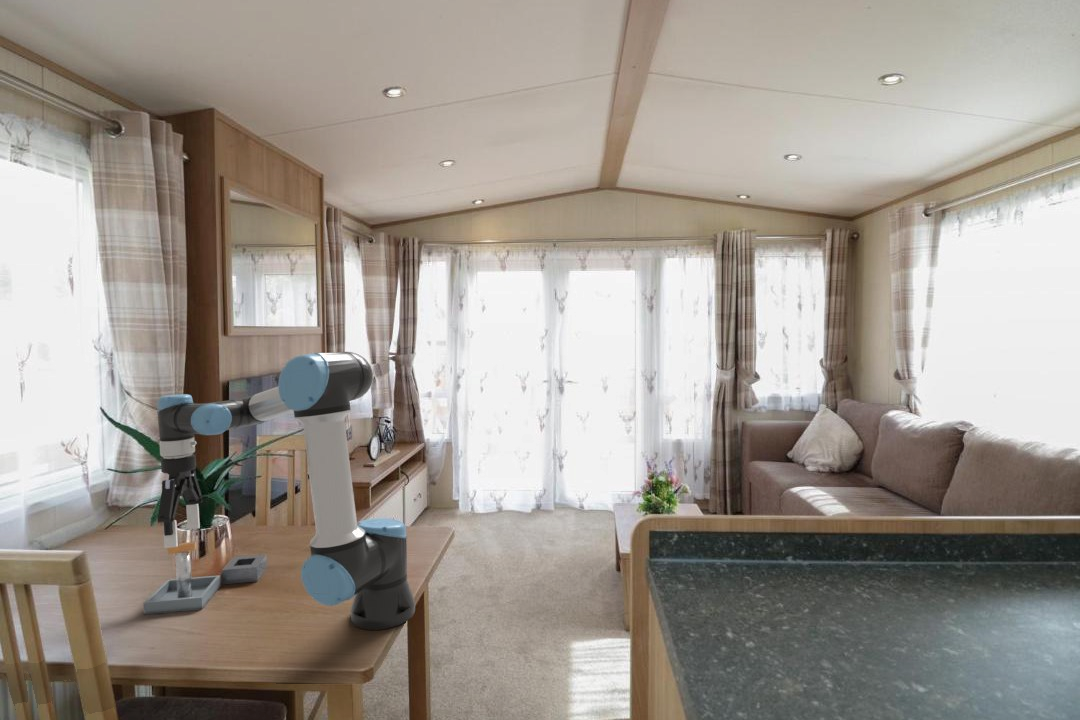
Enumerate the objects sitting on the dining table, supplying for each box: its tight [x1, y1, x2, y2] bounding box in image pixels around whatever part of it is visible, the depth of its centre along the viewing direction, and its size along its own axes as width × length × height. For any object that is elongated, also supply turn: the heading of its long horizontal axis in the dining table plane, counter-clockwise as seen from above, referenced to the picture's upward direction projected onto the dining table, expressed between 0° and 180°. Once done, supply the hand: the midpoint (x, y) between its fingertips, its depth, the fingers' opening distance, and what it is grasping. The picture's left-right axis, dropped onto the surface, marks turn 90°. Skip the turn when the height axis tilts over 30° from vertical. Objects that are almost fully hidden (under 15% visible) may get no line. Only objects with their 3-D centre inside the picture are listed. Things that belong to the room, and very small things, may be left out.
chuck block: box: [221, 554, 268, 585], centre depth 160 cm, size 9×9×4 cm
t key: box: [167, 541, 197, 598], centre depth 146 cm, size 6×3×14 cm, turn 109°
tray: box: [143, 574, 222, 615], centre depth 146 cm, size 13×13×3 cm
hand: (182, 537), depth 145 cm, fingers open, 13 cm apart
